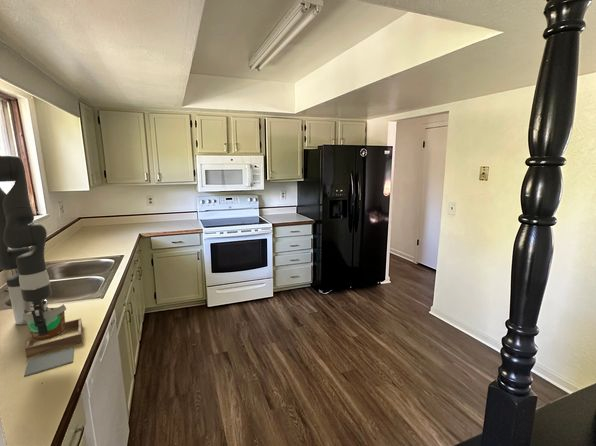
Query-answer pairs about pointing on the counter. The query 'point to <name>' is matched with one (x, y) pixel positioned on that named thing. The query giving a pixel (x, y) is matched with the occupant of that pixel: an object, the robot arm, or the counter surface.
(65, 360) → the rubber mat
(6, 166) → the robot arm
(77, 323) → the frame
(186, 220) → the counter surface
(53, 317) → the food container
